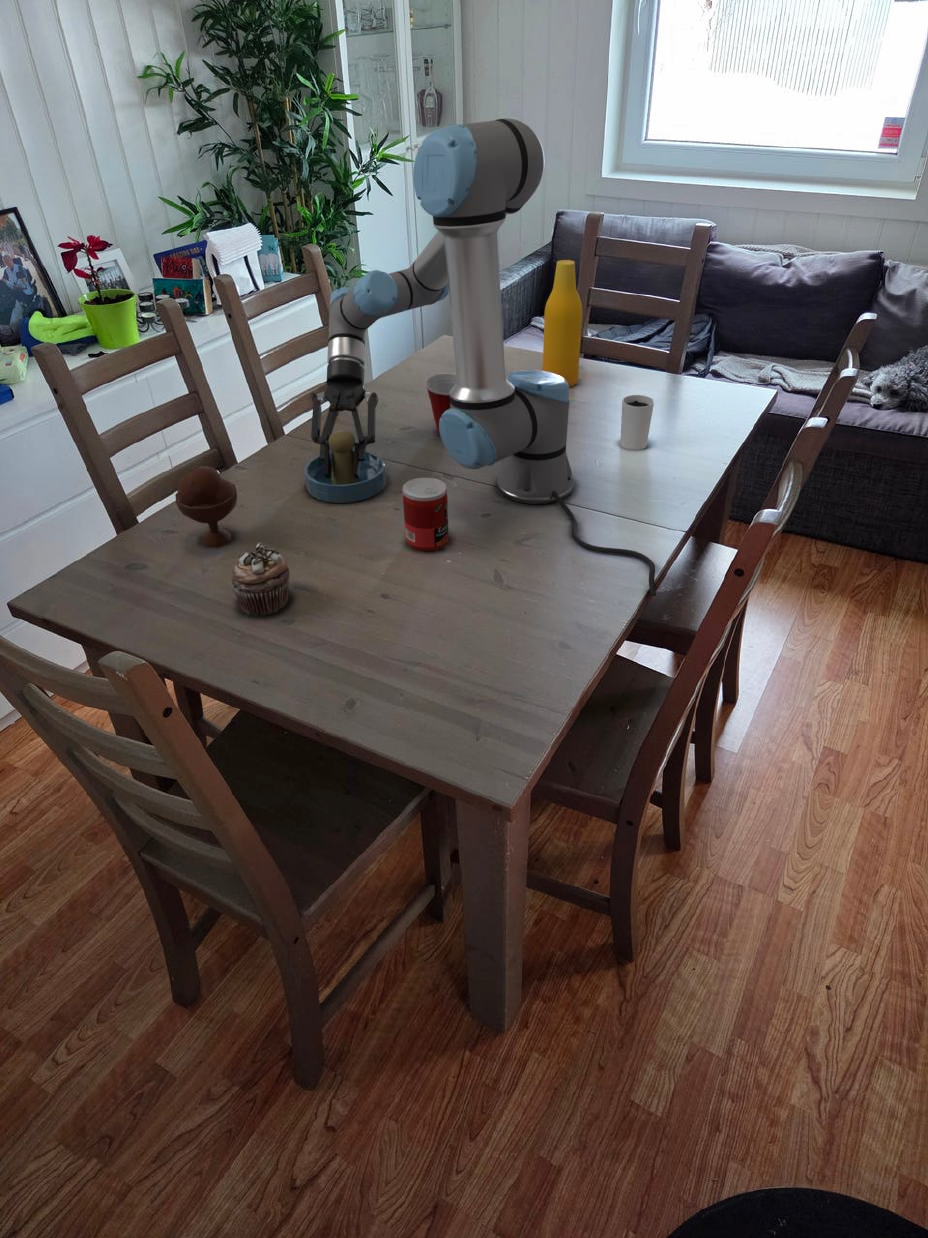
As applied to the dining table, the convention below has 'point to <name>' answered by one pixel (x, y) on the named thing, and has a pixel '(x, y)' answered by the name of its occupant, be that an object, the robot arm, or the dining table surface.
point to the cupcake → (261, 581)
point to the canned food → (426, 513)
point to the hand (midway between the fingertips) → (341, 476)
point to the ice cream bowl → (207, 501)
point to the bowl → (326, 491)
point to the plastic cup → (440, 393)
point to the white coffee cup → (635, 421)
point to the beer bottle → (563, 325)
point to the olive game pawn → (342, 458)
